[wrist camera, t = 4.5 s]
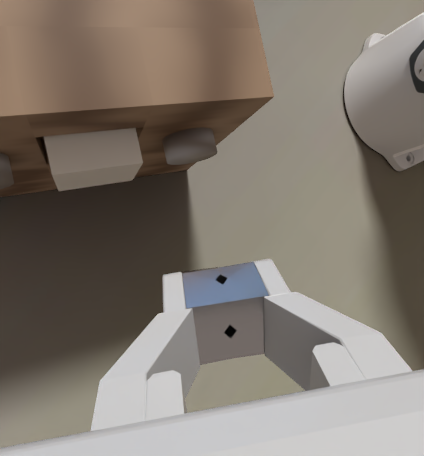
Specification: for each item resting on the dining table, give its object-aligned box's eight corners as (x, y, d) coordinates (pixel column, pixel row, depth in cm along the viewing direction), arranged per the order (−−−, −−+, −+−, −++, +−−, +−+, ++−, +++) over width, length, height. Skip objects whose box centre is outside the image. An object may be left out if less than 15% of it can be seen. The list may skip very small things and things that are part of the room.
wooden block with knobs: (167, 78, 37) (237, -74, 20) (190, 183, 37) (279, 122, 20) (-57, 88, 29) (-246, -135, 13) (-29, 219, 29) (-180, 169, 13)
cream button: (119, 120, 25) (127, 88, 20) (132, 180, 25) (143, 163, 20) (44, 126, 23) (34, 93, 19) (58, 191, 23) (51, 175, 19)
